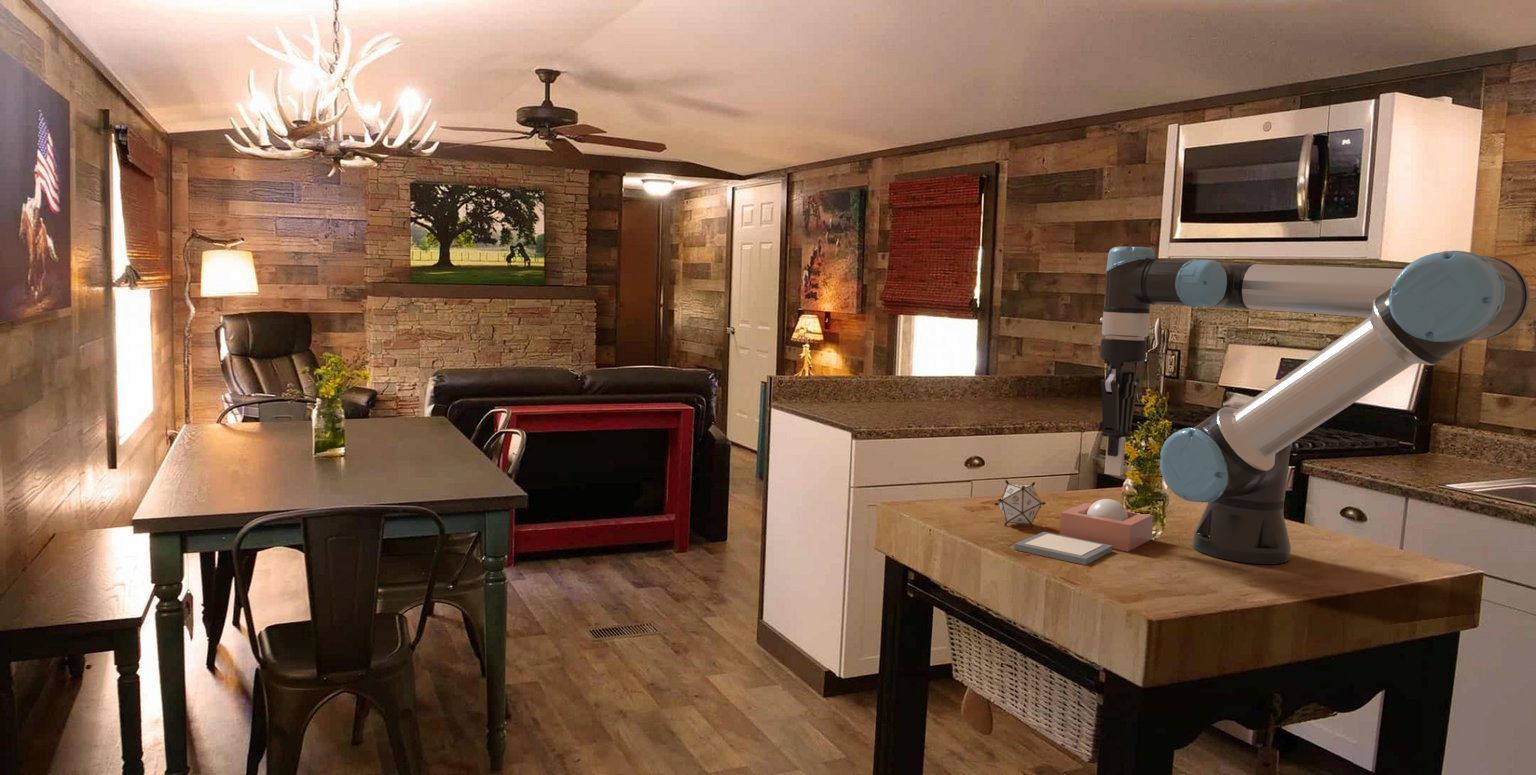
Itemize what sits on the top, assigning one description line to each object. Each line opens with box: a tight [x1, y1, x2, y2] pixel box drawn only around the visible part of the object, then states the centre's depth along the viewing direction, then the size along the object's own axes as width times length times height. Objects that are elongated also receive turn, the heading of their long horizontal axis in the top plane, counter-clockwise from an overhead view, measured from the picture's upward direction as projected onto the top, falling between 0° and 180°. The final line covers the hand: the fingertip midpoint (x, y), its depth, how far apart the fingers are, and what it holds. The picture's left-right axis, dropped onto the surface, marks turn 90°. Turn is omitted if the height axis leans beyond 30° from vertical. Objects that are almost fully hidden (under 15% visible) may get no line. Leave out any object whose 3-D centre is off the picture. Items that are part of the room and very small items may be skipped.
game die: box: [993, 479, 1047, 529], centre depth 189 cm, size 9×8×10 cm
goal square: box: [1013, 531, 1113, 566], centre depth 173 cm, size 12×12×1 cm
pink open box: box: [1058, 502, 1154, 553], centre depth 183 cm, size 12×12×4 cm
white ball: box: [1087, 498, 1128, 521], centre depth 182 cm, size 7×7×7 cm
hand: (1113, 474), depth 181 cm, fingers closed
